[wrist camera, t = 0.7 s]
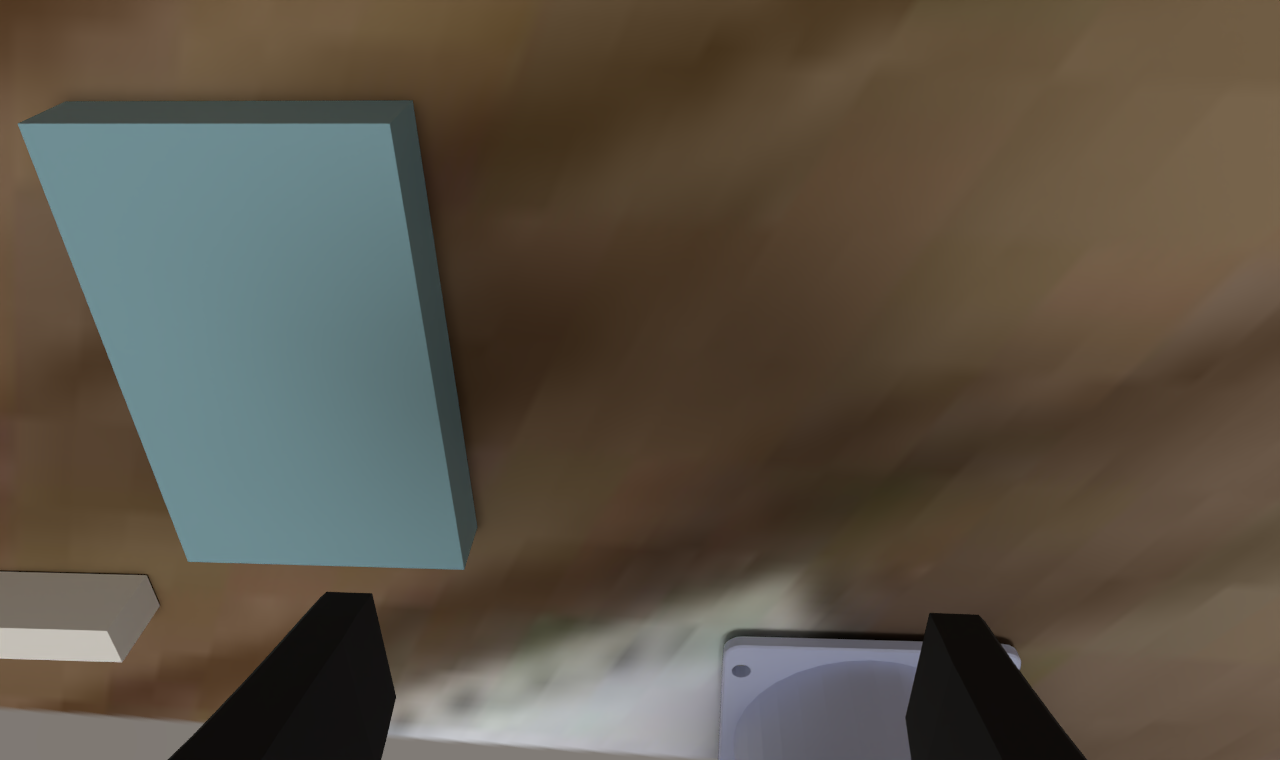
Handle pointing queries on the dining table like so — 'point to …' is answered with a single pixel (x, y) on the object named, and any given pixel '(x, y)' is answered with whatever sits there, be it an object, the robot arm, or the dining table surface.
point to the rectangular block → (271, 321)
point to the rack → (73, 615)
